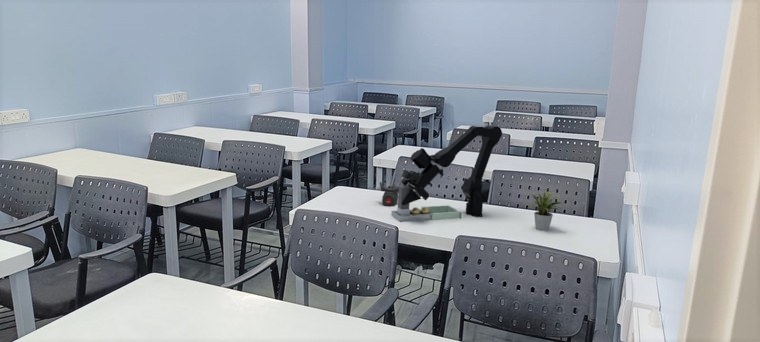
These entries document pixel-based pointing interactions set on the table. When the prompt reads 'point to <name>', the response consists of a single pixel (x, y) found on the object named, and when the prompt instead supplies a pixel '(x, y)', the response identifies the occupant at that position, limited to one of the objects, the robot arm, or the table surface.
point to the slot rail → (413, 216)
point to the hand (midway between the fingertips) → (400, 203)
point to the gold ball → (425, 210)
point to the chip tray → (444, 212)
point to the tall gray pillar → (401, 196)
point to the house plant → (544, 211)
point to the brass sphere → (415, 211)
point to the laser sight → (389, 194)
